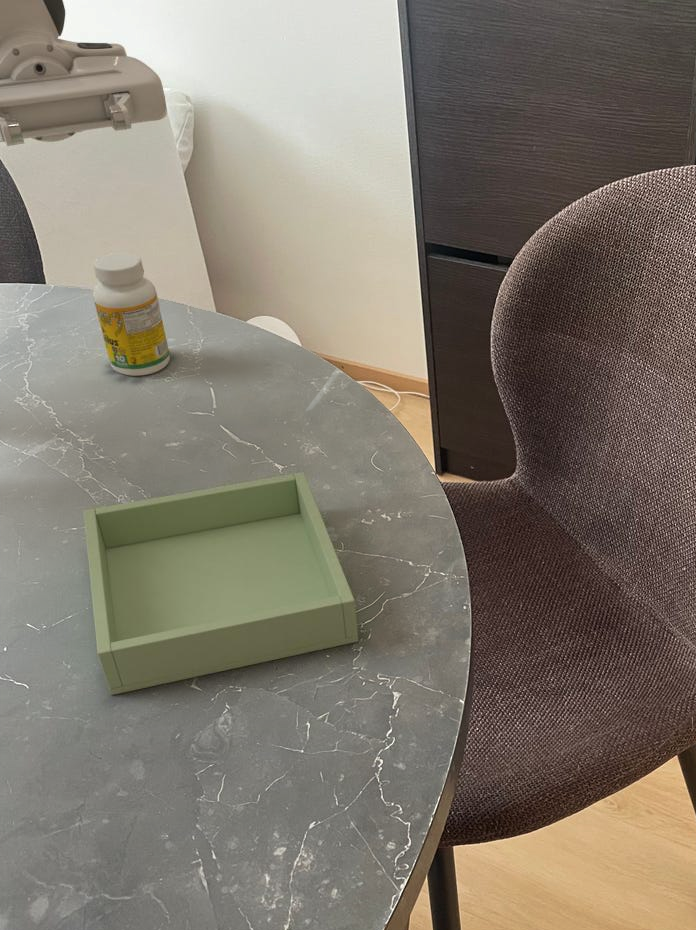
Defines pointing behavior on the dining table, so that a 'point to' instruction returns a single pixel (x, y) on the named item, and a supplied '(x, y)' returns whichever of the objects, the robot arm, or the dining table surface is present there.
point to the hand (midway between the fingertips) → (68, 127)
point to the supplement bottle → (129, 315)
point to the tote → (214, 582)
